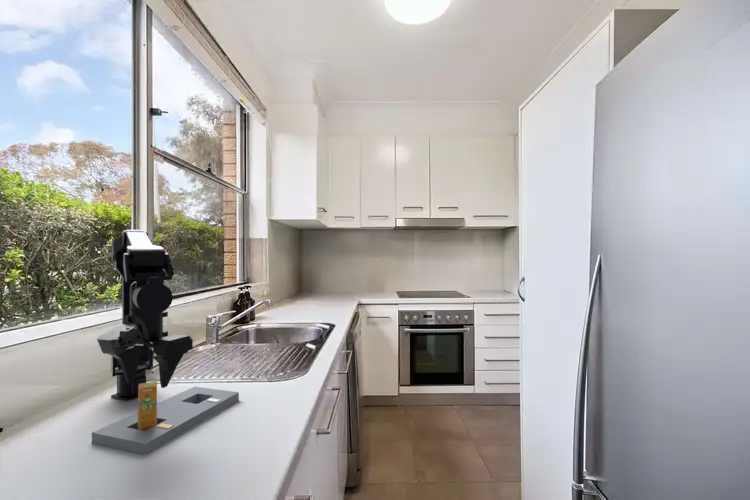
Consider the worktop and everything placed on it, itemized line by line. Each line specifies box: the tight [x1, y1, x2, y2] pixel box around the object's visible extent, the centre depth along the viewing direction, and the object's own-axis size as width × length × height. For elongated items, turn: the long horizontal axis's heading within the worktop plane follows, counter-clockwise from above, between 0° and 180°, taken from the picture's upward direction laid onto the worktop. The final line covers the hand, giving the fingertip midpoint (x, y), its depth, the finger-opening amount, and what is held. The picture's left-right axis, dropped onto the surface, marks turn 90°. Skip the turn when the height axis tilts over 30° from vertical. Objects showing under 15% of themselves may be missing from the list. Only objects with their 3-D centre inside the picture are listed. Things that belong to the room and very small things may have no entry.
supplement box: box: [137, 380, 158, 431], centre depth 72 cm, size 3×3×10 cm
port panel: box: [91, 386, 240, 455], centre depth 78 cm, size 14×25×2 cm, turn 162°
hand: (147, 385), depth 72 cm, fingers open, 9 cm apart
